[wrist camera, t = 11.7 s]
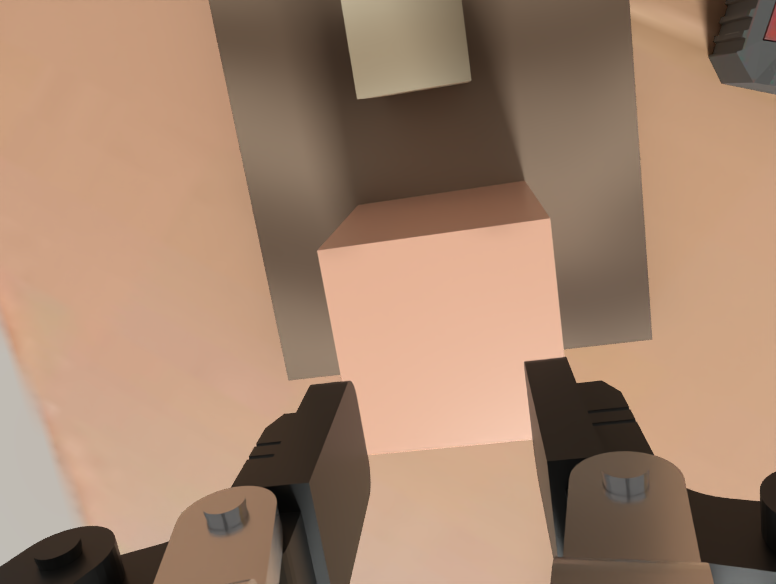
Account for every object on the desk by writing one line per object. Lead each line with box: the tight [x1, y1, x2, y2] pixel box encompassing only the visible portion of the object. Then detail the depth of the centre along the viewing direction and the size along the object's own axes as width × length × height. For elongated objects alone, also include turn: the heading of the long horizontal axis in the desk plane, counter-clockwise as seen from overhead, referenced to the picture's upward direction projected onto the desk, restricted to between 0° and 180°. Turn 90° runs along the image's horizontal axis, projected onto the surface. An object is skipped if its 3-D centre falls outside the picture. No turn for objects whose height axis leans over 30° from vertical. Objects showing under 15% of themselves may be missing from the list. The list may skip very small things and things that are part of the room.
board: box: [209, 0, 652, 380], centre depth 19 cm, size 21×12×7 cm, turn 9°
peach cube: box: [317, 181, 564, 455], centre depth 20 cm, size 5×5×7 cm
